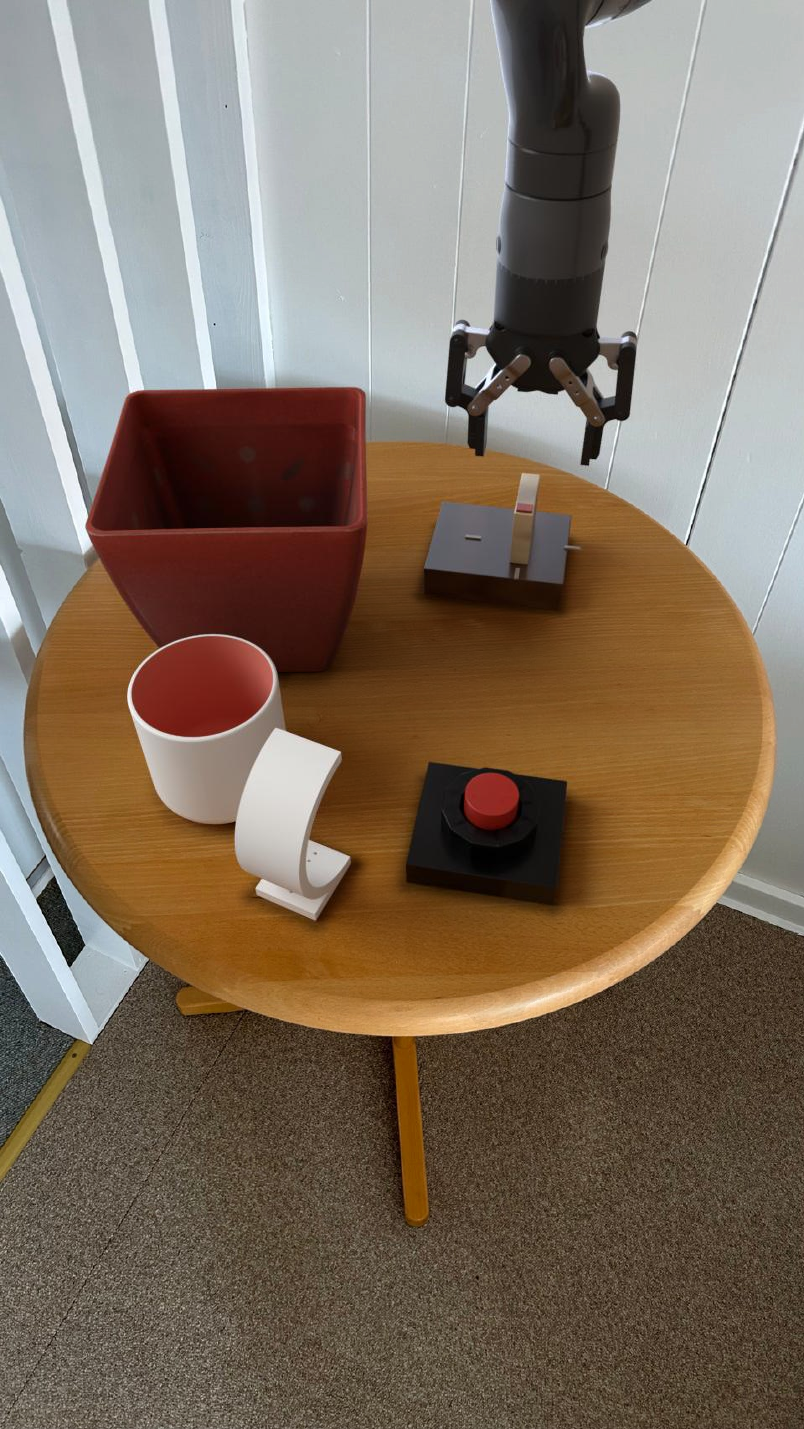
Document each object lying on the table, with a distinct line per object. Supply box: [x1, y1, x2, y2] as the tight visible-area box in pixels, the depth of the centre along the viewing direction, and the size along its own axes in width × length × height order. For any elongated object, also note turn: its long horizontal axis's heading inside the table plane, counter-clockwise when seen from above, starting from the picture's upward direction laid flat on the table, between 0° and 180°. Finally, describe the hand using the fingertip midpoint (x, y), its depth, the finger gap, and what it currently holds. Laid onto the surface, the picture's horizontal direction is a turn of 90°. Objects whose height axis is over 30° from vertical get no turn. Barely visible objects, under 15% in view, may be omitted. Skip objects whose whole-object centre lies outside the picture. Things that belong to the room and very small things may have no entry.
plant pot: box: [84, 386, 368, 673], centre depth 77 cm, size 19×19×17 cm
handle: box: [510, 472, 541, 564], centre depth 84 cm, size 6×2×5 cm, turn 169°
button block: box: [405, 761, 568, 906], centre depth 67 cm, size 10×9×4 cm
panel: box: [423, 501, 582, 611], centre depth 87 cm, size 13×10×3 cm
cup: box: [127, 634, 287, 825], centre depth 68 cm, size 10×10×10 cm
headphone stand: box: [234, 728, 352, 922], centre depth 61 cm, size 5×6×12 cm
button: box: [464, 773, 519, 830], centre depth 65 cm, size 4×4×2 cm
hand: (532, 455), depth 79 cm, fingers open, 8 cm apart
